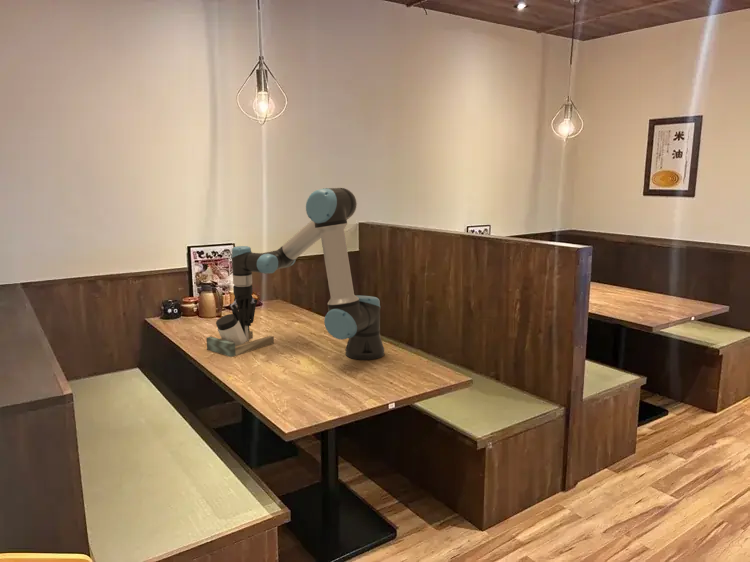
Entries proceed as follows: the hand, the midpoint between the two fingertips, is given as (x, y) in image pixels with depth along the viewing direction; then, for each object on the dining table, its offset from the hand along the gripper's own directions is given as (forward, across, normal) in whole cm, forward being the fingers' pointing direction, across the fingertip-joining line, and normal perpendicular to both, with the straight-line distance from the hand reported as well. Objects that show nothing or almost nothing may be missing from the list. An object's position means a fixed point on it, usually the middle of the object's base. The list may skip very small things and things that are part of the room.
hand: (245, 341), depth 236 cm
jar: (0, +4, 0) cm, 5 cm away
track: (+2, +2, 0) cm, 2 cm away
